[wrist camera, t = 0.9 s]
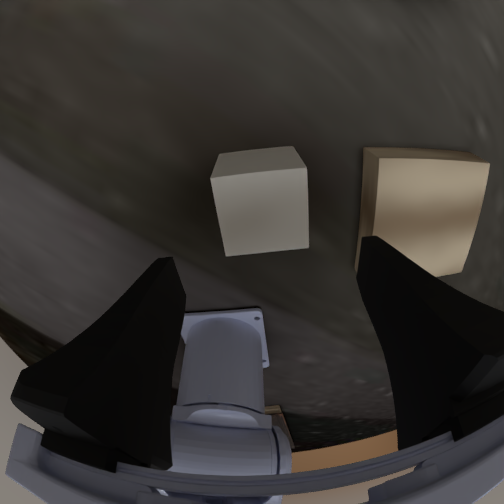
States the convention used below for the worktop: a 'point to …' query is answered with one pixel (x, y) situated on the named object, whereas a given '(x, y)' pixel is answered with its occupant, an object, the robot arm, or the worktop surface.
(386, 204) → the oak plinth
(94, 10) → the worktop surface
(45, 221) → the worktop surface
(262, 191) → the cream cube
